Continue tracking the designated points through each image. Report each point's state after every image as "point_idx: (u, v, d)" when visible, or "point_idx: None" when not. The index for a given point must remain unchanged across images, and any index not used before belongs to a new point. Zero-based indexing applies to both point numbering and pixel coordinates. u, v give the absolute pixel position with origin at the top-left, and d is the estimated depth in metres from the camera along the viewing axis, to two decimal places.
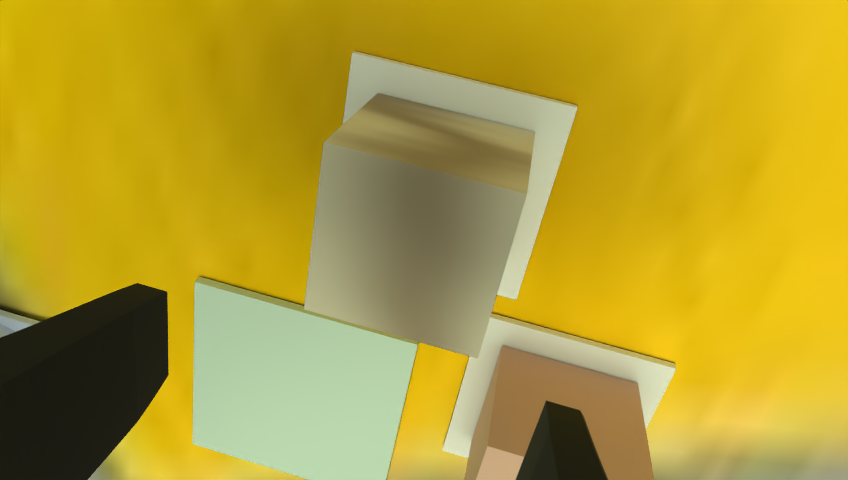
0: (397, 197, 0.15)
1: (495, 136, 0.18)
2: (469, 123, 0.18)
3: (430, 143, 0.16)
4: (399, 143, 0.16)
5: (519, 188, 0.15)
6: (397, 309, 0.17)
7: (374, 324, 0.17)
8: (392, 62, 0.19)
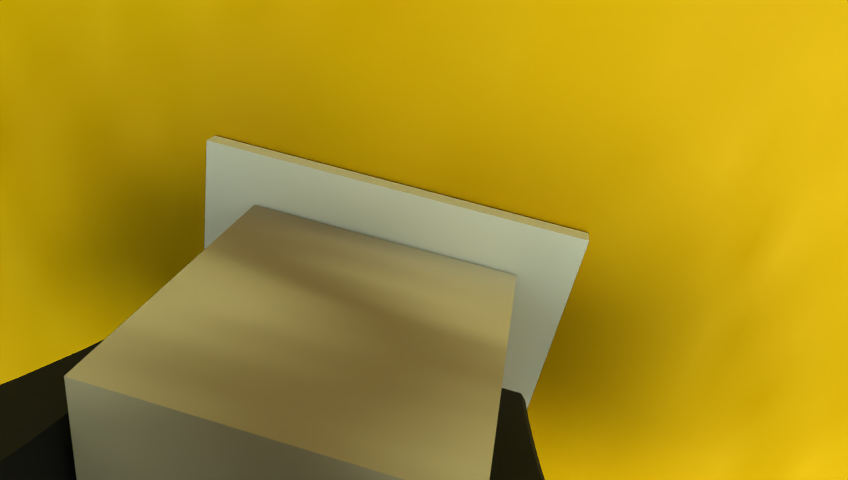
0: None
1: (445, 298, 0.10)
2: (402, 267, 0.11)
3: (310, 340, 0.08)
4: (241, 353, 0.08)
5: None
6: None
7: None
8: (274, 157, 0.11)
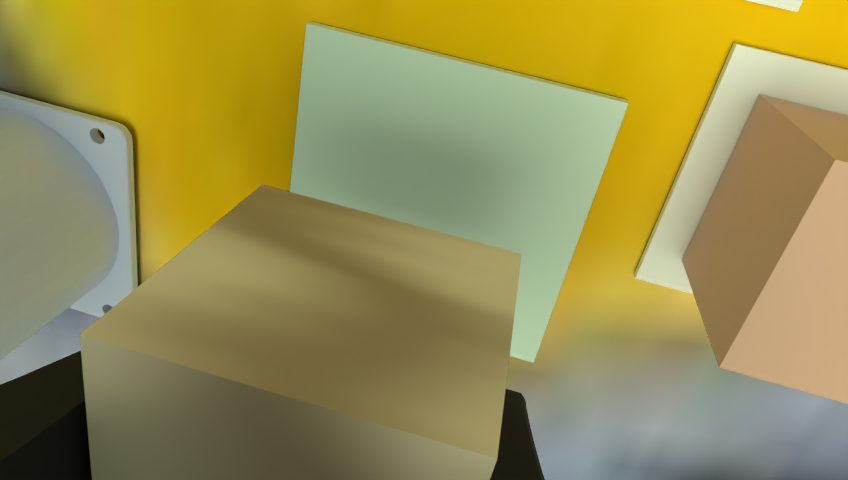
0: (237, 442, 0.07)
1: (452, 273, 0.10)
2: (410, 244, 0.11)
3: (321, 308, 0.09)
4: (253, 318, 0.08)
5: (483, 440, 0.07)
6: None
7: None
8: None
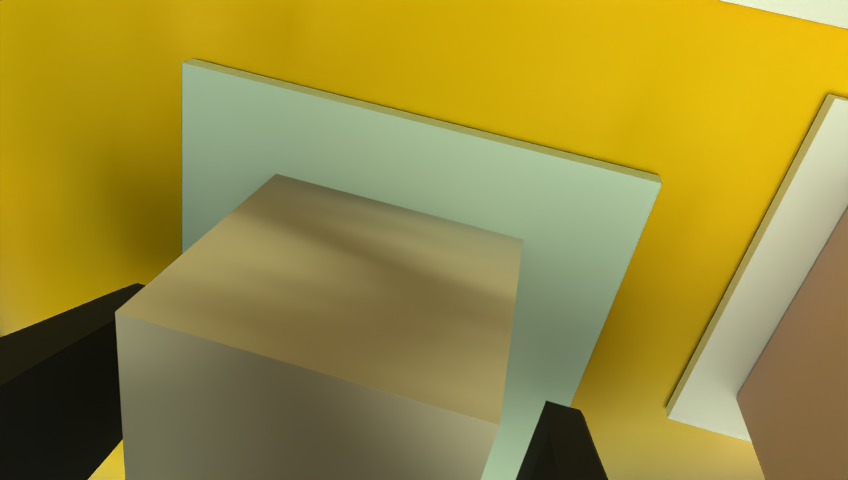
0: (259, 411, 0.08)
1: (457, 257, 0.11)
2: (417, 230, 0.11)
3: (334, 289, 0.09)
4: (272, 298, 0.09)
5: (486, 408, 0.08)
6: None
7: None
8: None
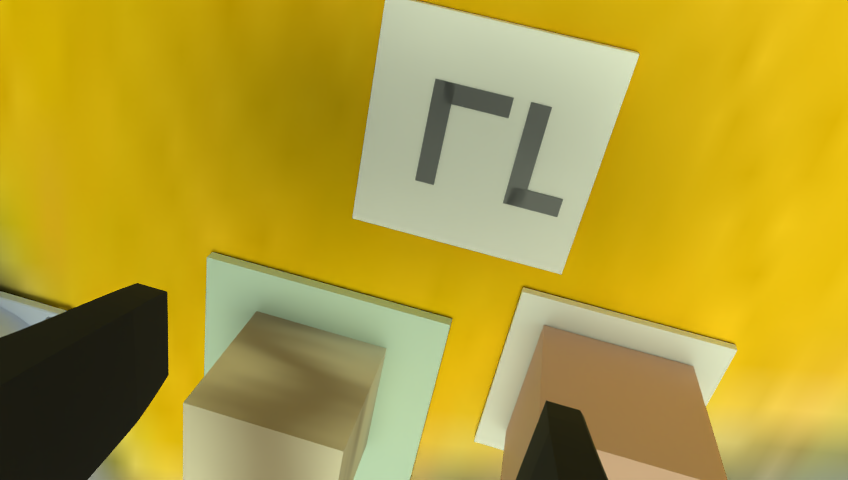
0: (245, 444, 0.19)
1: (346, 363, 0.21)
2: (328, 345, 0.22)
3: (280, 386, 0.20)
4: (251, 392, 0.19)
5: (339, 444, 0.18)
6: None
7: None
8: (431, 5, 0.17)
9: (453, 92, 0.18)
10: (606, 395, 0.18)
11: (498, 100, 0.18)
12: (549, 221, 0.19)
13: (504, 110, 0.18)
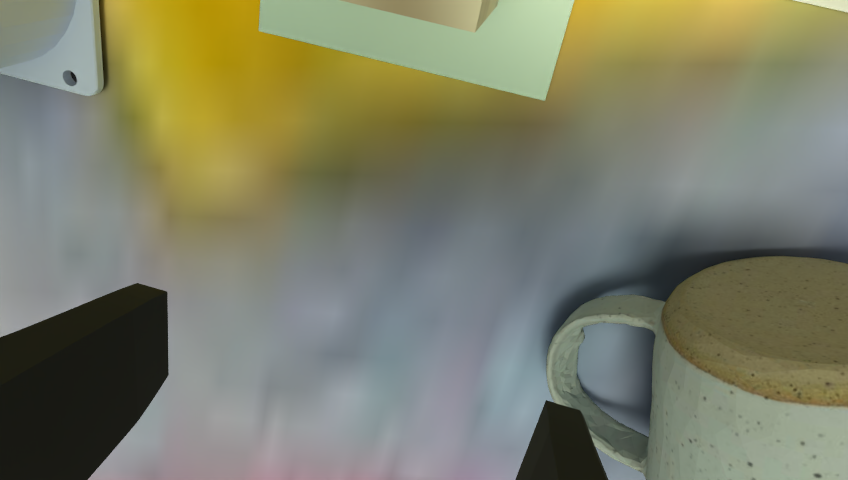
0: None
1: None
2: None
3: None
4: None
5: None
6: None
7: None
8: None
9: None
10: None
11: None
12: None
13: None
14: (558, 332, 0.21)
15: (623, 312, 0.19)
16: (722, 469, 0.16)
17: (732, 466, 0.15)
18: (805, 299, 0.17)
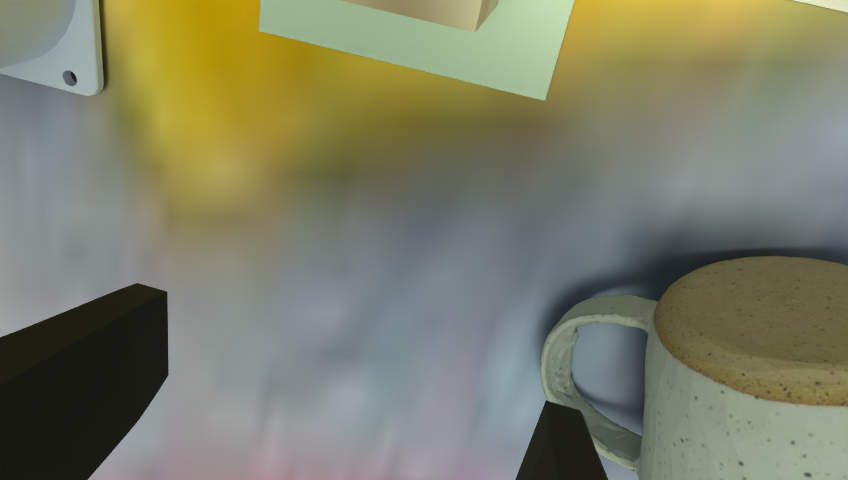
0: None
1: None
2: None
3: None
4: None
5: None
6: None
7: None
8: None
9: None
10: None
11: None
12: None
13: None
14: (552, 332, 0.21)
15: (616, 311, 0.19)
16: (713, 469, 0.16)
17: (723, 466, 0.15)
18: (797, 299, 0.17)
